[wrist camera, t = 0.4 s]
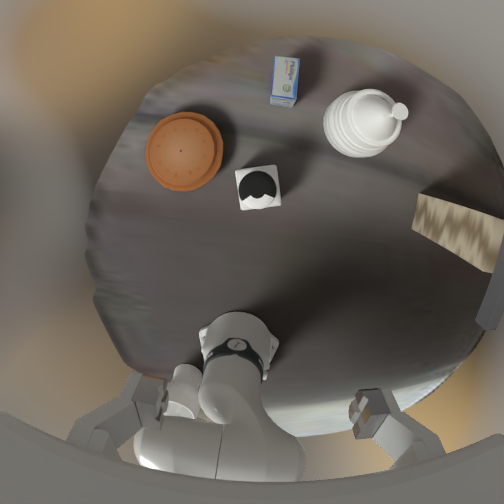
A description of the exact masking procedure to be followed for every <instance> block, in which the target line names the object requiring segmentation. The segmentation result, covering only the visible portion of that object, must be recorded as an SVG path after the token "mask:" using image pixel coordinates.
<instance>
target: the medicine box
mask: <svg viewBox="0 0 504 504" xmlns="http://www.w3.org/2000/svg"><path fill="white" fill-rule="evenodd" d="M299 63H300V59H299V58H290V57H281V56H275V58H274V67H273V76H272V87H271V100H270V105H276V106H284V107H291V108H292V107H293V105H294V103H295V101H296V99H297V86H298V75H299Z"/></svg>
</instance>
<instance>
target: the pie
mask: <svg viewBox="0 0 504 504" xmlns="http://www.w3.org/2000/svg"><path fill="white" fill-rule="evenodd" d="M222 157H223V140H222V137H221V134H220V131H219V130H218V128H217V127H216V125H215V124H214V123H213V122H212V121H211V120H210V119H209V118H207V117H206V116H205V115H202V114H199V113H195V112H179V113H176V114H172V115H170V116H168V117H166V118H164V119H162V120H161V121H160V122H159V123H158V124H157V125H156V126H155V128H154V129H153V131H152V133H151V134H150V136H149V138H148V142H147V146H146V162H147V165H148V168H149V171H150V172H151V174H152V175H153V176H154V178H155V179H156V180H157V181H158V182H159V183H160V184H161V185H163V186H164V187H166V188H169V189H171V190H174V191H190V190H195V189H197V188H199V187H201V186H203V185H205V184H206V183H207V182H208V181H210V180H211V179H212V178H213V177H214V176H215V175H216V173H217V171H218V170H219V168H220V166H221V162H222Z"/></svg>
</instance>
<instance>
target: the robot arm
mask: <svg viewBox="0 0 504 504" xmlns="http://www.w3.org/2000/svg"><path fill="white" fill-rule="evenodd" d="M204 336H205V338H204ZM199 337H200V342H201V347H202V350H201V352H202V353H203V357H204V366H203V367H204V368H203V379H202V382H201V386H200V389H199V393H198V400H199V403H200V406H201V408H202V409H203V411H204V412H205V414H206V415H207V416H208V417H209V418H210V419H211V420H213V421H214V422H216V423H212V422H207V421H201V420H196V419H191V418H187V417H182V416H165V415H164V414H163V413H165V412H166V411H167V407H168V402H169V393H168V390H167V389H166V388H167V379H166V378H161V377H156V376H151V375H147V374H142V373H137V372H131V373H130V375H129V377H128V379H127V381H126V383H125V386H124V388H123V390H122V392H121V394H120V397H119V398H117V397H115V398H114V399H112V400H110V401H108V402H107V403H105V404H103V405H102V406H100V407H98V408H96V409H95V410H93V411H91V412H89V413H88V414H86V415H84V416H82V417H81V418H79V419H77V420H76V421H75V423H74V425H73V427H72V429H71V431H70V433H69V435H68V437H67V439H66V441H64V440H62V439H59V438H57V437H55V436H53V435H50V434H48V433H46V432H44V431H42V430H40V429H38V428H36V427H34V426H32V425H30V424H28V423H26V422H24V421H22V420H20V419H18V418H16V417H15V416H13V415H11V414H9V413H8V412H5V411H2V410H0V504H504V435H502V434H494V435H492V436H490V437H488V438H485V439H483V440H481V441H479V442H476V443H474V444H471V445H469V446H466V447H464V448H462V449H459V450H456V451H453V452H450V453H448V454H446V452H445V450H444V448H443V446H442V443H441V441H440V439H439V437H438V436H437V435H436V434H435V433H433V432H432V431H430V430H429V429H427V428H426V427H425V426H423V425H422V424H420V423H419V422H417V421H416V420H415V419H413V418H412V417H410V416H409V415H407V414H406V413H405V412H401V411H400V409H399V406H398V404H397V402H396V400H395V398H394V396H393V393H392V391H391V389H390V388H389V387H387V388H374V389H361V390H358V391H357V392H356V394H355V397H356V399H355V400H353V401H352V402H351V404H350V406H349V419H350V421H351V422H352V423H353V424H354V426H353V428H352V429H353V432H354V436H355V439H366V438H372V439H373V440H374V441H375V442H376V443H377V444H378V445H379V446H380V447H381V448H382V449H383V450H384V451H385V452H386V453H387V454H388V455H389V456H390V457H391V458H392V459H393V460H394V461H395V463H394V464H393V465H392V467H390V469H389V470H386V471H381V472H376V473H371V474H365V475H359V476H353V477H345V478H337V479H328V480H316V481H300V479H301V478H302V476H303V474H304V472H305V468H306V454H305V450H304V448H303V446H302V444H301V443H300V441H299V440H298V439H297V438H296V437H295V436H293V435H291V434H289V433H287V432H286V431H284V430H283V429H281V428H280V427H279V426H278V425H276V424H275V423H274V422H273V421H272V419H271V418H270V417H269V416H268V414H267V413H266V411H265V410H264V408H263V405H262V402H261V383H262V381H263V380H266V378H267V375H268V371H266V370H267V369H268V370H269V368H270V362H271V360H272V358H273V356H274V354H275V352H276V350H277V348H278V346H279V340H278V339H277V338H276V337H275V336H273V335H272V334H271V333H270V332H269V330H268V328H267V327H266V325H265V324H264V323H263V322H262V321H261V320H260V319H259V318H257V317H256V316H254V315H251V314H249V313H245V312H229V313H226V314H223V315H221V316H219V317H218V318H217V319H215V320H214V321H213V322H212V323H211V324H210V325H208V326H205V327H203V328H201V329H200V331H199ZM272 346H273V347H272ZM223 428H224V430H223ZM134 434H135V437H134V451H135V455H136V457H137V460H138V461H139V463H140V465H141V466H140V465H136V464H132V463H128V462H124V461H122V459H121V457H120V455H119V453H118V451H117V448H119V447H120V446H121V445H122V444H124V443H125V442H126V441H127V440H128V439H130V438H131V437H132V436H133V435H134Z"/></svg>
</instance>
